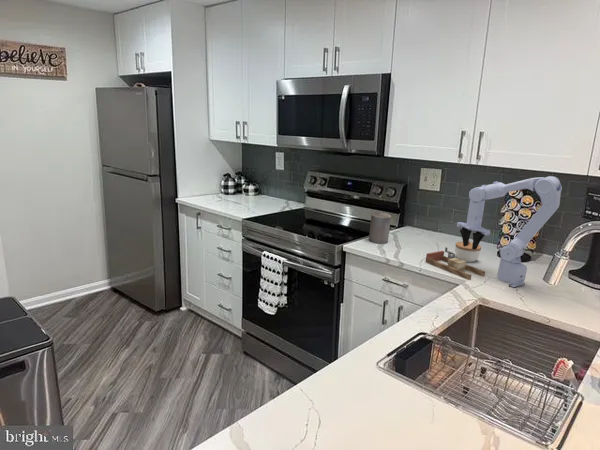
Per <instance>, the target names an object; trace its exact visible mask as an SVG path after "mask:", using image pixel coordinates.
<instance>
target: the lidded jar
mask: <svg viewBox="0 0 600 450" xmlns="http://www.w3.org/2000/svg"><path fill="white" fill-rule="evenodd" d="M472 245H473V242H471V241H470V240H469V243H468V246H463V241H457V242H456V243H455V248H454V254H455V258H458V259H461V260H464V261H466V262H467V263H475V262H476V261H477V260H478V259H479V257H480V254H481V250H482V246H481V245H480V244H479V245H478V247H477V249H472Z"/></svg>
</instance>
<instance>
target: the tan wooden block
mask: <svg viewBox="0 0 600 450" xmlns="http://www.w3.org/2000/svg"><path fill="white" fill-rule="evenodd" d="M467 263H468V262H466V261H464V260H461V259H458V258H457V257H455V258H453V259H448V263H447V265H448V266H450V267H453V268H455V269H458V270H460V271H463V272H465V271H466V270H465V267H466V264H467Z"/></svg>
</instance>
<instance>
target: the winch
mask: <svg viewBox="0 0 600 450" xmlns="http://www.w3.org/2000/svg"><path fill="white" fill-rule="evenodd" d="M444 250H445V251H444V253H447V257H448V258H451V259H453V258H456V254H455V252H453V251H450V250H449V249H448V247H445V249H444Z"/></svg>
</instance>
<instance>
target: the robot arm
mask: <svg viewBox="0 0 600 450" xmlns="http://www.w3.org/2000/svg"><path fill="white" fill-rule="evenodd" d="M526 189H527V190H528V191H529V190H530V191H532V192H534V191H535V192H536V194H537V195H538V197H540V201H541V205H540V207H539V208H538V210H537V211H536V212H535V213H534V214H533V216H532V217H531V218H530V219H529V220H528V222H527V223H526V224H525V225H524V226H523V228H522V229H521V230H520V231H519V233H518V234H517V235H516V236H515V237H514V238H513V239H512V240H511V241H510V242H509V243H508V244H507V245H504V246H503V247H502V248H500V249H499V257H500V259H499V260H500V261H499V265H498V271H497V275H496V276H497V279H498V280H500V281H503V282H505V283H506V282H507V283H508V287H511V288H516V287H520V286H523V285H526V282H525V280H526V275H527V269H528V268H527V265H525V264H524V263H522V260H521V256H523V255H524V252H525V249H526V248H527V246H528V244H529V243H530V241H531V240H532V239H533V238H534V236H535V235H536V234H537V233H538V232H539V231H540V230H541V229H542V228H543V226H544V225H545V224H546V223H547V222H548V220H549V219H550V218H551V217H552V216H553V215H554V214H555V212H556V211H557V210H558V208H559V207H560V204H561V203H560V202H561V194H562V189H563V186H562V184H561V182H560V179H559V178H558V177H556V176H553V175H548V176H546V177H545V176H542V177H531V178H527V179H523V180H519V181H514V182H510V183H507V184H505V183H503V182H499V181H493V183H491V184H482V185H481V186H478V187H474V188H472V189H470V191H469V193H468V197H469V206H468V210H467V211H468V212H467V216H466V217H467V218H466V222H462V221H457V222H456V227H457V228H461V229H459V233H460V235H461V238H462V242H463V246H468V243H469V241H470V237H471V234H472V243H473V245H472V249H477V247H478V245H480V243H481V241H482V240H483V238H484V237H485V236H490V235H491V230H490V229H487V228H485V227H483V226H482V221H483V216H484V209H485V204H486V200H492V199H497V198H498V199H499V198H502V197H504V196H506V194H507V193H510V192H515V191H520V190H526ZM509 283H510V284H509Z"/></svg>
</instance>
